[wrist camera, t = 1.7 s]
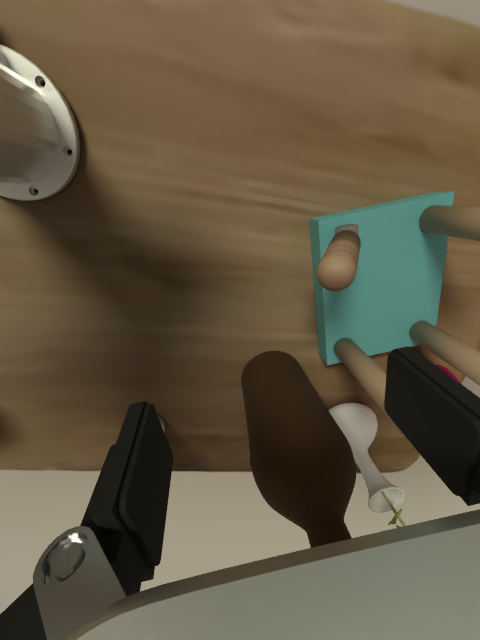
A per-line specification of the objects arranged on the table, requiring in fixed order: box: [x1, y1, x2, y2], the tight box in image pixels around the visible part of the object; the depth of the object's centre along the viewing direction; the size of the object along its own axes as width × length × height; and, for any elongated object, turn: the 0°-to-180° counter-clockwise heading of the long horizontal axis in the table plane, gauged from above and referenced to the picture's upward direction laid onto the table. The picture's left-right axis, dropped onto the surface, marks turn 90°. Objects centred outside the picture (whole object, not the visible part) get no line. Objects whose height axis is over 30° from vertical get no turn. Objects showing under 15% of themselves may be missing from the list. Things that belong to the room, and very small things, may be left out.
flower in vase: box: [328, 403, 405, 528], centre depth 38 cm, size 13×11×25 cm
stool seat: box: [309, 192, 480, 434], centre depth 30 cm, size 20×16×17 cm
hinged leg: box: [316, 224, 361, 291], centre depth 26 cm, size 3×3×14 cm
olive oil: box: [242, 351, 356, 548], centre depth 31 cm, size 11×11×25 cm
